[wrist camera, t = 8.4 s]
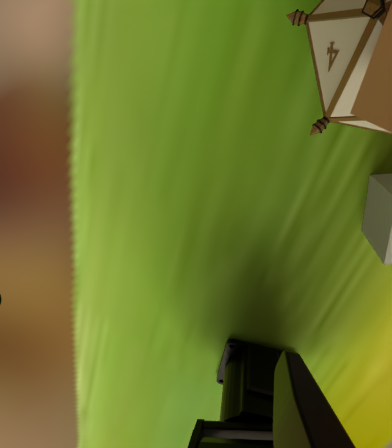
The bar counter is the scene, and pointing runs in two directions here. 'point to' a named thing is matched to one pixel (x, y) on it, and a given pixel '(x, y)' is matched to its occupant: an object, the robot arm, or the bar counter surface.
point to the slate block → (379, 216)
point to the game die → (342, 54)
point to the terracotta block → (377, 82)
